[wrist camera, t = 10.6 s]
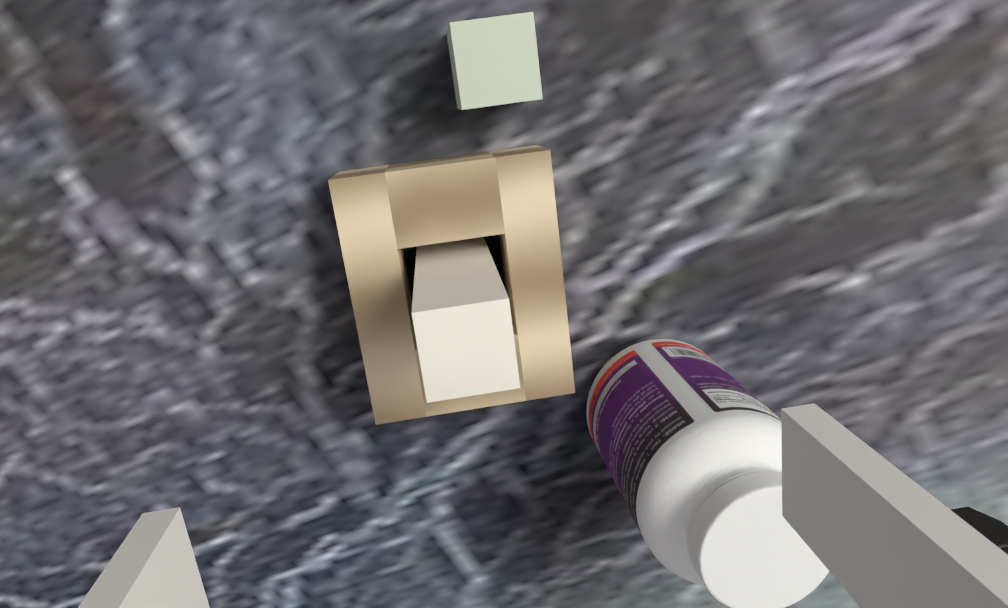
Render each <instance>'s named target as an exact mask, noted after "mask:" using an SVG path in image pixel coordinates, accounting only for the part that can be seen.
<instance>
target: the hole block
mask: <svg viewBox="0 0 1008 608" xmlns="http://www.w3.org/2000/svg"><path fill="white" fill-rule="evenodd" d="M328 183H329V188H330V193H331V198H332V203H333V209H334V214H335V219H336V224H337V229H338V234H339V239H340V244H341V250H342V255H343V260H344V265H345V270H346V275H347V280H348V285H349V291H350V296H351V301H352V306H353V311H354V316H355V321H356V326H357V332H358V337H359V342H360V347H361V352H362V357H363V362H364V367H365V373H366V378H367V383H368V388H369V393H370V398H371V403H372V408H373V414H374V419H375V424H376V425H377V424H383V423H389V422H396V421H402V420H408V419H414V418H421V417H427V416H433V415H440V414H446V413H452V412H458V411H465V410H471V409H477V408H483V407H490V406H496V405H502V404H509V403H515V402H521V401H527V400H534V399H540V398H546V397H552V396H559V395H565V394H571V393H575V386H574V376H573V366H572V357H571V347H570V337H569V328H568V318H567V308H566V299H565V289H564V279H563V270H562V260H561V250H560V241H559V231H558V221H557V212H556V202H555V192H554V183H553V173H552V163H551V154H550V150H549V149H546V148H544V147H541V146H538V145H532V146H525V147H518V148H510V149H503V150H496V151H488V152H481V153H473V154H466V155H459V156H451V157H444V158H436V159H429V160H422V161H414V162H407V163H399V164H392V165H385V166H377V167H370V168H363V169H355V170H348V171H340V172H338V173H337V174H335V175H334V176H333V177H331V178H330V179H329V180H328ZM492 235H499V240H500V248H501V256H502V264H503V272H504V279H505V287H506V292H507V295H508V297H509V302H510V310H511V318H512V326H513V334H514V341H515V349H516V357H517V365H518V373H519V381H520V388H518V389H512V390H505V391H499V392H493V393H486V394H480V395H474V396H467V397H461V398H455V399H448V400H442V401H436V402H429V403H427V401H426V395H425V389H424V384H423V378H422V372H421V366H420V360H419V354H418V348H417V342H416V337H415V331H414V325H413V319H412V313H411V312H412V298H411V292H410V286H409V280H408V274H407V268H406V262H405V256H404V250H403V248H409V247H415V246H422V245H429V244H436V243H443V242H450V241H457V240H464V239H471V238H478V237H485V236H492Z"/></svg>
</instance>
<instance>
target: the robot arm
mask: <svg viewBox="0 0 1008 608" xmlns="http://www.w3.org/2000/svg"><path fill="white" fill-rule="evenodd" d="M781 425H782V516H783V517H784V518H785V520H786V521H787V522H788V523H789V524H790V525H791V527H792V528H793V529H794V530H795V531H796V532H797V534H798V535H799V536H800V537H801V538H802V539H803V541H804V542H805V543H806V544H807V545H808V546H809V548H810V549H811V550H812V551H813V552H814V554H815V555H816V556H817V557H818V558H819V559H820V561H821V562H822V563H823V564H824V565H825V566H826V568H827V569H828V570H829V571H830V572H831V573H832V575H833V576H834V577H835V578H836V579H837V580H838V582H839V583H840V584H841V585H842V586H843V587H844V589H845V590H846V591H847V592H848V593H849V594H850V596H851V597H852V598H853V599H854V600H855V601H856V603H857V604H858V605H859V606H860V607H861V608H1008V526H1007V525H1005V524H1004V523H1003V522H1001V521H999V520H997V519H995V518H992V517H990V516H988V515H986V514H983V513H981V512H979V511H976V510H974V509H972V508H970V507H963V508H958V509H952V510H950V509H949V508H947V507H946V506H945V505H944V504H942V503H941V502H940V501H939V500H937V499H936V498H935V497H933V496H932V495H931V494H930V493H928V492H927V491H926V490H924V489H923V488H922V487H921V486H919V485H918V484H917V483H916V482H914V481H913V480H912V479H910V478H909V477H908V476H907V475H905V474H904V473H903V472H901V471H900V470H899V469H898V468H896V467H895V466H894V465H892V464H891V463H890V462H889V461H887V460H886V459H885V458H884V457H882V456H881V455H880V454H878V453H877V452H876V451H875V450H873V449H872V448H871V447H869V446H868V445H867V444H866V443H864V442H863V441H862V440H861V439H859V438H858V437H857V436H855V435H854V434H853V433H852V432H850V431H849V430H848V429H846V428H845V427H844V426H843V425H841V424H840V423H839V422H837V421H836V420H835V419H834V418H832V417H831V416H830V415H829V414H827V413H826V412H825V411H823V410H822V409H821V408H820V407H818V406H817V405H816V404H808V405H802V406H796V407H790V408H784V409H781ZM78 608H210V607H209V604H208V600H207V597H206V594H205V590H204V587H203V584H202V580H201V577H200V573H199V570H198V567H197V563H196V560H195V557H194V553H193V550H192V546H191V543H190V540H189V536H188V533H187V530H186V526H185V523H184V519H183V516H182V513H181V509H180V507H179V508H173V509H167V510H160V511H154V512H148V513H143V514H142V515H141V517H140V518H139V519H138V521H137V522H136V524H135V525H134V527H133V528H132V530H131V531H130V533H129V534H128V535H127V537H126V538H125V540H124V541H123V543H122V544H121V546H120V547H119V549H118V550H117V551H116V553H115V554H114V556H113V557H112V559H111V560H110V562H109V563H108V564H107V566H106V567H105V569H104V570H103V572H102V573H101V575H100V576H99V578H98V579H97V580H96V582H95V583H94V585H93V586H92V588H91V589H90V591H89V592H88V594H87V595H86V596H85V598H84V599H83V601H82V602H81V604H80V605H79V607H78Z"/></svg>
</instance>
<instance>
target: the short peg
mask: <svg viewBox="0 0 1008 608" xmlns="http://www.w3.org/2000/svg"><path fill="white" fill-rule="evenodd" d="M447 41H448V48H449V55H450V62H451V69H452V76H453V83H454V90H455V97H456V104H457V109H460V110H465V109H473V108H480V107H488V106H495V105H502V104H510V103H517V102H524V101H532V100H539V99H543V98H542V89H541V79H540V70H539V61H538V52H537V43H536V33H535V24H534V15H533V12H529V13H521V14H513V15H505V16H497V17H489V18H482V19H474V20H466V21H458V22H450V23H449V27H448V30H447Z"/></svg>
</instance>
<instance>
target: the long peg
mask: <svg viewBox="0 0 1008 608" xmlns="http://www.w3.org/2000/svg"><path fill="white" fill-rule="evenodd" d="M411 313H412V319H413V325H414V331H415V337H416V342H417V348H418V354H419V360H420V366H421V372H422V378H423V384H424V389H425V395H426V401H427V403H429V402H436V401H442V400H448V399H455V398H461V397H467V396H474V395H480V394H486V393H493V392H499V391H505V390H512V389H518V388H520V381H519V373H518V365H517V357H516V349H515V341H514V334H513V326H512V318H511V310H510V302H509V297H508V295H507V292H506V290H505V287H504V285H503V283H502V280H501V278H500V275H499V273H498V271H497V268H496V266H495V263H494V261H493V258H492V256H491V254H490V251H489V249H488V246H487V244H486V241H485V239H484V237H479V238H472V239H465V240H458V241H451V242H444V243H437V244H430V245H423V246H417V249H416V262H415V275H414V287H413V300H412V312H411Z"/></svg>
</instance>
